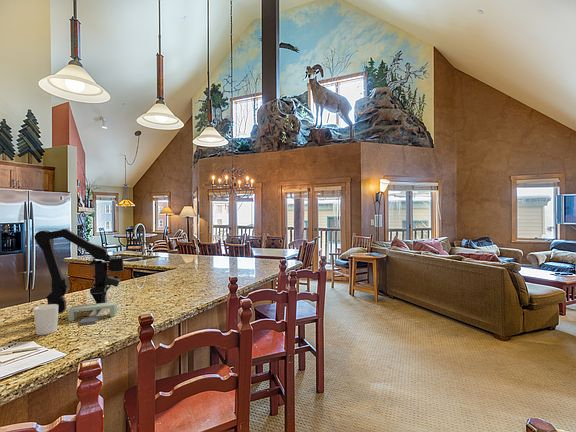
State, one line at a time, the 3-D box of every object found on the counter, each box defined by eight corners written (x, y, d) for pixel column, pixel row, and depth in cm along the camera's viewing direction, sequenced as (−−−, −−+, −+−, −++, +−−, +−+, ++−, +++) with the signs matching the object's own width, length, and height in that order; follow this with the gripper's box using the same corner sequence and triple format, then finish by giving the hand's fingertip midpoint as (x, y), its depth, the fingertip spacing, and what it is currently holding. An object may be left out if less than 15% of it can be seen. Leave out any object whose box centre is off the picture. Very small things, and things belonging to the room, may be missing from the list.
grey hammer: (87, 318, 147) (87, 305, 147) (98, 306, 167) (97, 294, 167) (97, 317, 148) (97, 304, 148) (106, 305, 168) (106, 293, 168)
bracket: (68, 320, 144) (68, 309, 144) (72, 316, 149) (72, 305, 149) (114, 316, 149) (114, 305, 149) (116, 312, 155) (116, 301, 155)
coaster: (79, 326, 138) (79, 322, 138) (83, 322, 143) (82, 318, 143) (95, 324, 140) (95, 320, 140) (98, 320, 145) (98, 316, 145)
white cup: (53, 327, 135) (52, 303, 135) (62, 330, 131) (62, 305, 131) (30, 333, 129) (29, 308, 129) (39, 337, 125) (39, 310, 125)
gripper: (115, 274, 159) (116, 306, 159) (121, 268, 177) (122, 297, 177) (89, 276, 155) (89, 309, 156) (98, 270, 173) (98, 299, 173)
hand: (101, 303), depth 165 cm, fingers open, 9 cm apart
